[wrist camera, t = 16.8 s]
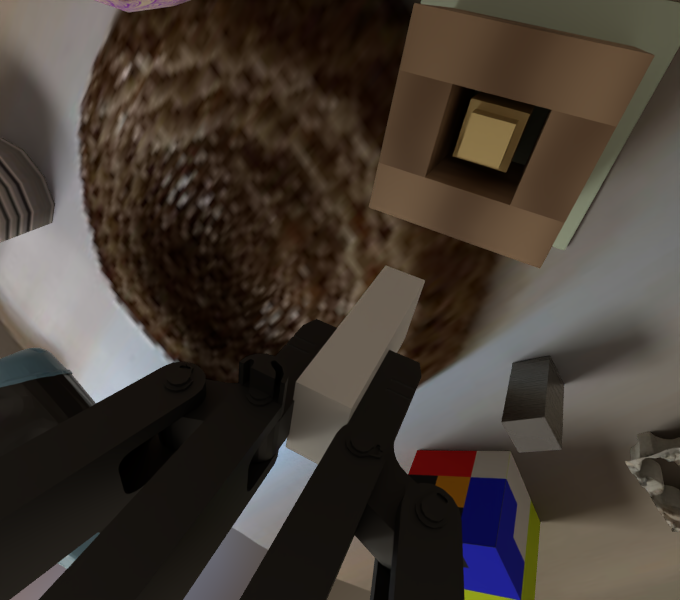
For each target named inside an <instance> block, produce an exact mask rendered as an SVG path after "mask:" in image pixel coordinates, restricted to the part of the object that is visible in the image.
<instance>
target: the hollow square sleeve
mask: <svg viewBox="0 0 680 600" xmlns="http://www.w3.org/2000/svg"><path fill="white" fill-rule="evenodd" d="M654 56H655V55H653V54H651V53H648V52H646V51H644V50H641V49H639V48H636V47H634V46H629V45H625V44H620V43H615V42H611V41H606V40H601V39H597V38H592V37H587V36H583V35H578V34H573V33H569V32H564V31H559V30H555V29H550V28H545V27H541V26H536V25H531V24H527V23H522V22H517V21H513V20H508V19H503V18H499V17H494V16H489V15H485V14H480V13H475V12H471V11H466V10H461V9H457V8H450V7H442V6H434V5H426V4H418V3H414V6H413V10H412V15H411V19H410V24H409V28H408V33H407V37H406V42H405V46H404V51H403V55H402V60H401V64H400V69H399V73H398V78H397V82H396V87H395V91H394V96H393V100H392V105H391V109H390V114H389V118H388V123H387V127H386V132H385V136H384V141H383V145H382V150H381V154H380V159H379V163H378V168H377V172H376V177H375V181H374V186H373V190H372V195H371V199H370V204H369V208H372V209H375V210H378V211H380V212H383V213H386V214H389V215H392V216H394V217H397V218H400V219H403V220H406V221H408V222H411V223H414V224H417V225H420V226H422V227H425V228H428V229H431V230H434V231H436V232H439V233H442V234H445V235H448V236H451V237H453V238H456V239H459V240H462V241H465V242H467V243H470V244H473V245H476V246H479V247H481V248H484V249H487V250H490V251H493V252H495V253H498V254H501V255H504V256H507V257H509V258H512V259H515V260H518V261H521V262H523V263H526V264H529V265H532V266H535V267H538V268H541V266H542V264H543V262H544V260H545V258H546V257H547V255H548V253H549V251H550V249H551V247H552V245H553V244H554V242H555V240H556V238H557V236H558V234H559V233H560V231H561V229H562V227H563V225H564V223H565V221H566V220H567V218H568V216H569V214H570V212H571V210H572V208H573V207H574V205H575V203H576V201H577V199H578V197H579V195H580V194H581V192H582V190H583V188H584V186H585V184H586V182H587V181H588V179H589V177H590V175H591V173H592V171H593V169H594V168H595V166H596V164H597V162H598V160H599V158H600V156H601V155H602V153H603V151H604V149H605V147H606V145H607V144H608V142H609V140H610V138H611V136H612V134H613V132H614V131H615V129H616V127H617V125H618V123H619V121H620V119H621V118H622V116H623V114H624V112H625V110H626V108H627V106H628V105H629V103H630V101H631V99H632V97H633V95H634V93H635V92H636V90H637V88H638V86H639V84H640V82H641V80H642V79H643V77H644V75H645V73H646V71H647V69H648V67H649V66H650V64H651V62H652V60H653V58H654ZM475 90H478V91H482V92H485V93H489V94H493V95H497V96H501V97H504V98H508V99H512V100H516V101H520V102H524V103H527V104H531V105H535V106H539V107H543V108H547V109H549V111H548V114H547V116H546V118H545V120H544V123H543V125H542V127H541V130H540V132H539V134H538V136H537V139H536V141H535V143H534V146H533V148H532V150H531V153H530V155H529V157H528V159H527V162H526V164H525V165H523V164H519V163H516V162H512V161H511V163H510V165H509V167H508V170H507V172H506V173H505V172H502V171H499V170H496V169H492V168H489V167H486V166H483V165H479V164H476V163H473V162H469V161H466V160H463V159H460V158H456V157H453V153H454V150H455V147H456V144H457V140H458V137H459V134H460V131H461V128H462V125H463V122H464V119H465V116H466V113H467V110H468V107H469V104H470V101H471V98H472V97H473V95H474V92H475Z"/></svg>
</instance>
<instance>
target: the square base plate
mask: <svg viewBox="0 0 680 600" xmlns="http://www.w3.org/2000/svg"><path fill="white" fill-rule="evenodd" d="M421 4H426V5H434V6H442V7H450V8H457V9H461V10H466V11H471V12H475V13H480V14H485V15H489V16H494V17H499V18H503V19H508V20H513V21H517V22H522V23H527V24H531V25H536V26H541V27H545V28H550V29H555V30H559V31H564V32H569V33H573V34H578V35H583V36H587V37H592V38H597V39H601V40H606V41H611V42H615V43H620V44H625V45H629V46H634V47H636V48H639V49H641V50H644V51H646V52H648V53H651V54H653V55H655V56H654V58H653V60H652V62H651V64H650V66H649V67H648V69H647V71H646V73H645V75H644V77H643V79H642V80H641V82H640V84H639V86H638V88H637V90H636V92H635V93H634V95H633V97H632V99H631V101H630V103H629V105H628V106H627V108H626V110H625V112H624V114H623V116H622V118H621V119H620V121H619V123H618V125H617V127H616V129H615V131H614V132H613V134H612V136H611V138H610V140H609V142H608V144H607V145H606V147H605V149H604V151H603V153H602V155H601V156H600V158H599V160H598V162H597V164H596V166H595V168H594V169H593V171H592V173H591V175H590V177H589V179H588V181H587V182H586V184H585V186H584V188H583V190H582V192H581V194H580V195H579V197H578V199H577V201H576V203H575V205H574V207H573V208H572V210H571V212H570V214H569V216H568V218H567V220H566V221H565V223H564V225H563V227H562V229H561V231H560V233H559V234H558V236H557V238H556V240H555V242H554V244H553V245H552V246H553V247H555V248H558V249H561V250H564V251H565V249H566V247H567V245H568V243H569V242H570V240H571V238H572V236H573V235H574V233H575V231H576V229H577V227H578V226H579V224H580V222H581V220H582V219H583V217H584V215H585V213H586V211H587V210H588V208H589V206H590V204H591V203H592V201H593V199H594V197H595V196H596V194H597V192H598V190H599V188H600V187H601V185H602V183H603V181H604V180H605V178H606V176H607V174H608V172H609V171H610V169H611V167H612V165H613V164H614V162H615V160H616V158H617V156H618V155H619V153H620V151H621V149H622V148H623V146H624V144H625V142H626V141H627V139H628V137H629V135H630V133H631V132H632V130H633V128H634V126H635V125H636V123H637V121H638V119H639V117H640V116H641V114H642V112H643V110H644V109H645V107H646V105H647V103H648V102H649V100H650V98H651V96H652V94H653V93H654V91H655V89H656V87H657V86H658V84H659V82H660V80H661V78H662V77H663V75H664V73H665V71H666V70H667V68H668V66H669V64H670V62H671V61H672V59H673V57H674V55H675V54H676V52H677V50H678V48H679V47H680V3H679V2H673V1H668V0H421ZM548 111H549V109H547V108H543V107H539V106H535V105H531V104H527V103H524V102H520V101H516V100H512V99H508V98H504V97H501V96H497V95H493V94H489V93H485V92H482V91H478V90H475V92H474V95H473V97H472V98H471V101H470V104H469V107H468V110H467V113H466V116H465V119H464V122H463V125H462V128H461V131H460V134H459V137H458V140H457V144H456V147H455V150H454V153H453V157H456V158H460V159H463V160H466V161H469V162H473V163H476V164H479V165H483V166H486V167H489V168H492V169H496V170H499V171H502V172H505V173H506V172H507V170H508V167H509V165H510V163H511V161H512V162H516V163H519V164H523V165H525V164H526V162H527V159H528V157H529V155H530V153H531V150H532V148H533V146H534V143H535V141H536V139H537V136H538V134H539V132H540V130H541V127H542V125H543V123H544V120H545V118H546V116H547V114H548Z"/></svg>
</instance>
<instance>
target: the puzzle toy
mask: <svg viewBox="0 0 680 600" xmlns="http://www.w3.org/2000/svg"><path fill="white" fill-rule="evenodd" d="M408 475H409V476H410V477H411V478H412V479H413V480H414V481H415V482H416V483H417V484H419V483H429V484H434V485H436V486H438V487H440V488H442V489H444V490H445V491H446V492H447V493H448V494H449V495H450V496H451V497H452V498H453V499H454V501H455V503H456V504H457V506H458V508H459V511H460V515H461V520H462V543H463V570H464V597H465V600H534V598H535V585H536V572H537V558H538V545H539V532H540V520H539V518H538V516H537V513H536V511H535V508H534V506H533V504H532V501H531V499H530V496H529V494H528V492H527V489H526V487H525V484H524V482H523V480H522V477H521V475H520V472H519V470H518V468H517V465H516V463H515V460H514V458H513V456H512V453H511V451H432V450H417V453H416V455H415V458H414V461H413V463H412V466H411V469H410V471H409V474H408Z"/></svg>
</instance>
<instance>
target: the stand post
mask: <svg viewBox="0 0 680 600" xmlns="http://www.w3.org/2000/svg"><path fill="white" fill-rule="evenodd" d="M563 400H564V384H563V381H562V379H561V377H560V375H559V373H558V371H557V369H556V367H555V365H554V363H553V361H552V359H551V357H550V356H546V357H541V358H536V359H531V360H526V361H521V362H516V363H513V364H512V369H511V375H510V380H509V385H508V390H507V396H506V401H505V406H504V411H503V417H502V424H503V426H504V428H505V429H506V431H507V433H508V435H509V437H510V438H511V440H512V442H513V444H514V445H515V447H516V449H517V451H518V453H521V452H535V451H550V450H562V427H563Z"/></svg>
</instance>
